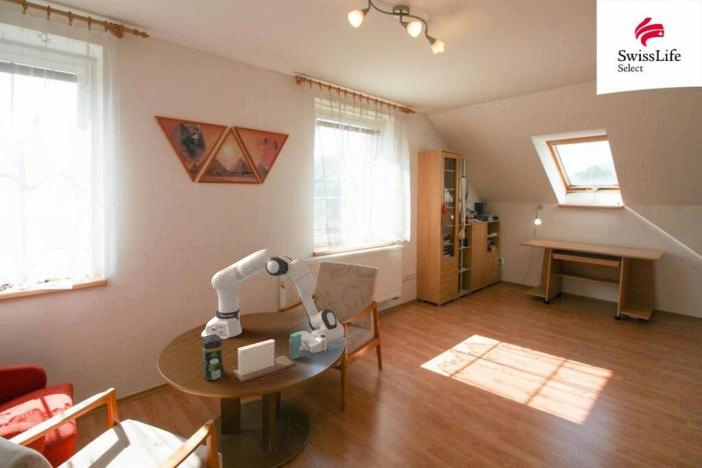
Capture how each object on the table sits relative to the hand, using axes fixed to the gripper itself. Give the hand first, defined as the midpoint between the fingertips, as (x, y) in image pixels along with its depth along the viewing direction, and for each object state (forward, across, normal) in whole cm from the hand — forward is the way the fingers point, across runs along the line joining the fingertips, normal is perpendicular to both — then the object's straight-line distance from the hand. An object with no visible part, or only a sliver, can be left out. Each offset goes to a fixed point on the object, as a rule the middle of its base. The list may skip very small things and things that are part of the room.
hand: (294, 345), depth 173 cm
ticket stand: (+16, 0, +8) cm, 18 cm away
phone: (+35, -16, +8) cm, 40 cm away
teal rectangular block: (-1, 0, +6) cm, 6 cm away
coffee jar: (+37, -8, +8) cm, 39 cm away
